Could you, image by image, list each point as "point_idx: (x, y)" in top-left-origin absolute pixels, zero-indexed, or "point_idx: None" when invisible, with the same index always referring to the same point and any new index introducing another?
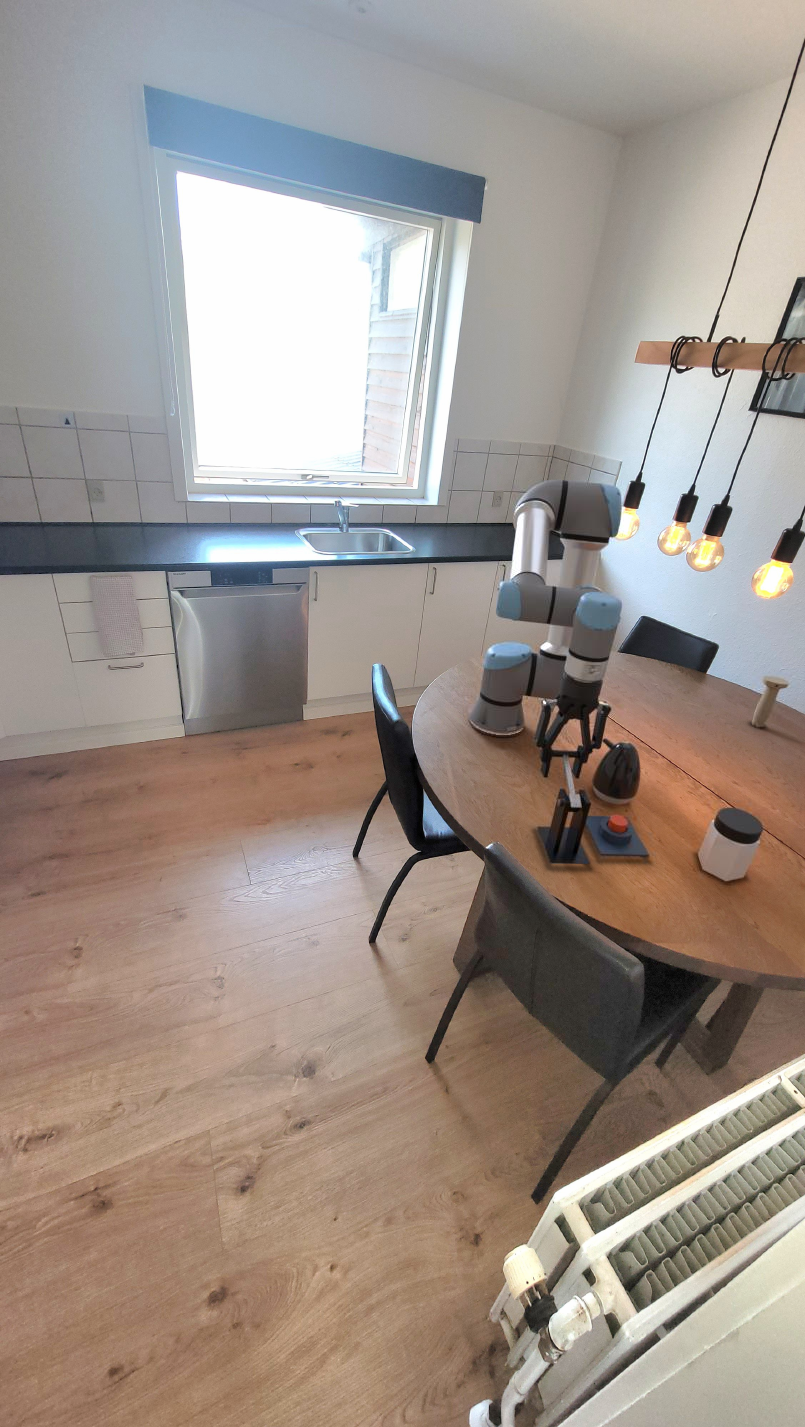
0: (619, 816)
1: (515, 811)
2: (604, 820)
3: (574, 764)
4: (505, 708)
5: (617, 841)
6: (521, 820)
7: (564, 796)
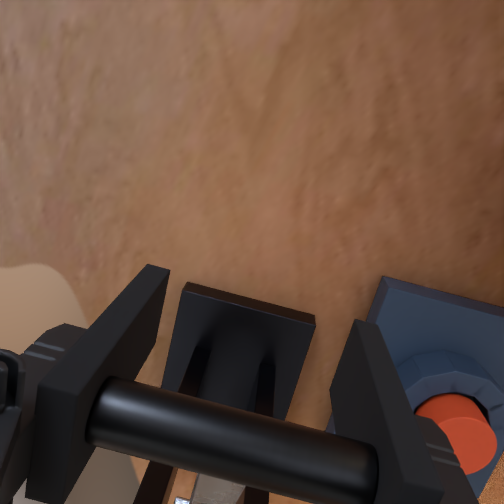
0: (480, 430)
1: (160, 160)
2: (424, 388)
3: (358, 371)
4: None
5: None
6: (162, 215)
7: None
